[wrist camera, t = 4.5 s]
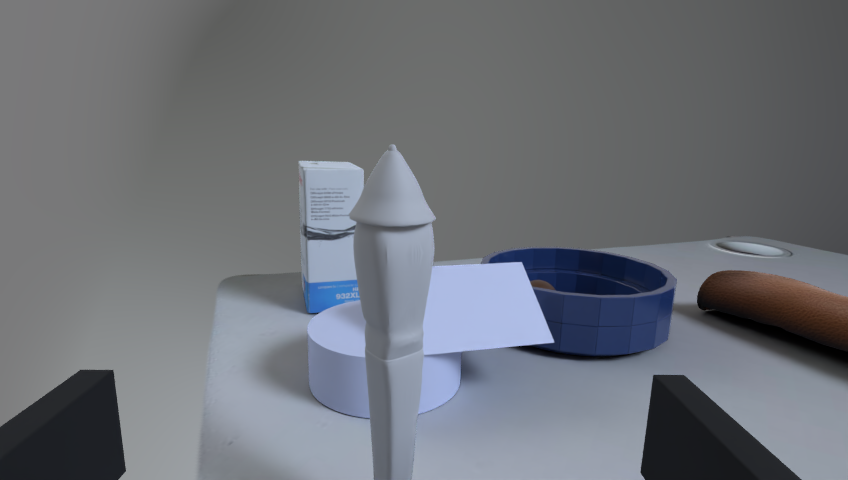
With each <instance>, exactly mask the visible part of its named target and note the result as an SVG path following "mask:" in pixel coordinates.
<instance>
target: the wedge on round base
mask: <svg viewBox="0 0 848 480" xmlns="http://www.w3.org/2000/svg"><path fill="white" fill-rule="evenodd" d="M365 326H366V320H365V319H364V316H363V313H362V308H361V302H360V300H359V301H353V302H348V303H344V304H340V305H336V306H333V307H331V308H328V309H326V310H324V311H322V312H320V313H319V314H317V315H316V316H314V317H313V318H312V319H311V321H310V322H309V324H308V327H307V332H308V365H309V387H310V390H311V392H312V394H313V395H314V397H315V398H316V399H317V400H318V401H319V402H321V403H322V404H324V405H325V406H327V407H329V408H331V409H333V410H335V411H338V412H341V413H344V414H348V415H352V416H357V417H363V418H370V411H369V398H368V386H367V373H366V361H365V346H366V344H365ZM423 332H424V335H423V352H424V358H423V367H422V384H421V395H420V403H419V411H418V414H421V413H424V412H427V411H430V410H433V409H435V408H437V407H439V406H441V405H442V404H444V403H445V402H447V401H448V400H449V399H451V398H452V397H453V396H454V395H455V393H456V392H457V390H458V388H459V386H460V378H461V354H462V351H472V350H483V349H493V348H503V347H513V346H524V345H534V344H544V343H555V342H554V340H553V337H552V335H551V333H550V330H549V328H548V325H547V323H546V320H545V318H544V315H543V313H542V310H541V308H540V306H539V303H538V301H537V298H536V296H535V293H534V291H533V288H532V286H531V283H530V281H529V279H528V276H527V274H526V271H525V269H524V266H523V264H522V262H512V263H492V264H471V265H451V266H432V273H431V279H430V286H429V291H428V297H427V302H426V308H425V315H424V320H423Z"/></svg>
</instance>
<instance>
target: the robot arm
mask: <svg viewBox="0 0 848 480" xmlns="http://www.w3.org/2000/svg"><path fill="white" fill-rule="evenodd" d="M125 471H126V468H125V461H124V453H123V445H122V437H121V428H120V420H119V412H118V404H117V396H116V389H115V380H114V372H113V370H80V371H78V372H77V373H76V374H74V375H73V376H71V377H70V378H69V379H67V380H66V381H64V382H63V383H62V384H60V385H59V386H57V387H56V388H54V389H53V390H52V391H50V392H49V393H47V394H46V395H45V396H43V397H42V398H40V399H39V400H38V401H36V402H35V403H33V404H32V405H31V406H29V407H28V408H26V409H25V410H24V411H22V412H21V413H19V414H18V415H17V416H15V417H14V418H12V419H11V420H9V421H8V422H7V423H5V424H4V425H3V426H1V427H0V480H118V479H119V478H120V477H121V476H122V475H123V474H124V472H125ZM641 474H642V476H643V477H644V479H645V480H801V479H800V478H799V477H798V476H797V475H796V474H795V473H793V472H792V471H791V470H790V469H789V468H788V467H787V466H786V465H784V464H783V463H782V462H781V461H780V460H779V459H778V458H777V457H775V456H774V455H773V454H772V453H771V452H770V451H769V450H768V449H766V448H765V447H764V446H763V445H762V444H761V443H760V442H759V441H757V440H756V439H755V438H754V437H753V436H752V435H751V434H750V433H748V432H747V431H746V430H745V429H744V428H743V427H742V426H741V425H739V424H738V423H737V422H736V421H735V420H734V419H733V418H732V417H730V416H729V415H728V414H727V413H726V412H725V411H724V410H723V409H721V408H720V407H719V406H718V405H717V404H716V403H715V402H714V401H712V400H711V399H710V398H709V397H708V396H707V395H706V394H705V393H703V392H702V391H701V390H700V389H699V388H698V387H697V386H696V385H694V384H693V383H692V382H691V381H690V380H689V379H688V378H687V377H685V376H684V375H653V383H652V390H651V398H650V405H649V413H648V420H647V428H646V435H645V443H644V450H643V458H642V465H641Z"/></svg>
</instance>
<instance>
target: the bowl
mask: <svg viewBox="0 0 848 480" xmlns="http://www.w3.org/2000/svg"><path fill="white" fill-rule="evenodd" d="M512 262H522V264H523V266H524V269H525V271H526V274H527V276H528V279H529V281H533V280H543V281H546V282H548V283H549V284H551V285H552V286H553V287H554V288H555V290H556V291H555V290H550V289H544V288H538V287H533V286H532V288H533V291H534V293H535V296H536V298H537V301H538V303H539V306H540V308H541V310H542V313H543V315H544V318H545V320H546V323H547V325H548V328H549V330H550V333H551V335H552V337H553V340H554V342H555V343H544V344H534V345H530V346H533V347H536V348H540V349H544V350H548V351H553V352H557V353H563V354H570V355H579V356H618V355H624V354H631V353H636V352H640V351H645V350H650V349H654V348H655V347H657V346H659V345H660V344H662V343H663V342H665V341H667V340H668V336H669V332H670V327H671V320H672V312H673V305H674V298H675V291H676V283H677V279H676V278H675V277H674V276H673V275H672V274H671V273H670V272H669V271H667V270H665V269H663V268H661V267H659V266H657V265H655V264H652V263H649V262H646V261H642V260H639V259H636V258H632V257H628V256H623V255H618V254H614V253H609V252H603V251H595V250H588V249H579V248H565V247H524V248H512V249H507V250H502V251H498V252H494V253H492V254H489V255H487V256H485V257H484V258H483V259H482V262H481V264H492V263H512Z"/></svg>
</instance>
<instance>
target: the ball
mask: <svg viewBox="0 0 848 480" xmlns="http://www.w3.org/2000/svg"><path fill="white" fill-rule="evenodd" d="M530 283H531V286H533V287H538V288H544V289H550V290H555V288H554V287H553V286H552V285H551V284H549V283H548V282H546V281H543V280H533V281H530ZM555 291H556V290H555Z"/></svg>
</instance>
